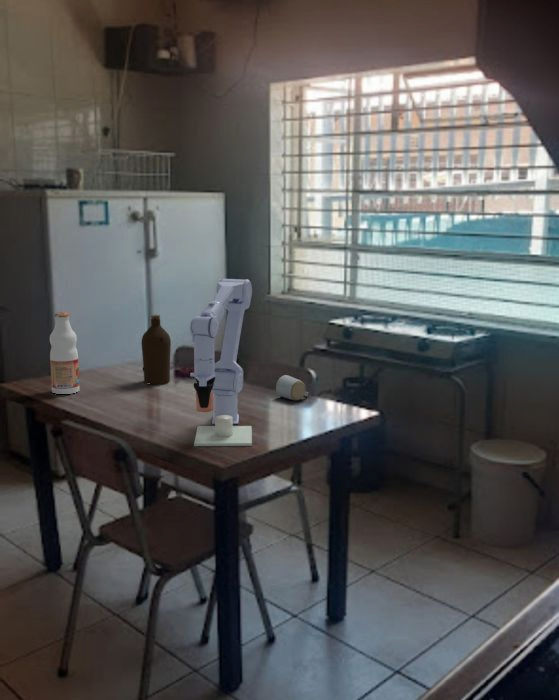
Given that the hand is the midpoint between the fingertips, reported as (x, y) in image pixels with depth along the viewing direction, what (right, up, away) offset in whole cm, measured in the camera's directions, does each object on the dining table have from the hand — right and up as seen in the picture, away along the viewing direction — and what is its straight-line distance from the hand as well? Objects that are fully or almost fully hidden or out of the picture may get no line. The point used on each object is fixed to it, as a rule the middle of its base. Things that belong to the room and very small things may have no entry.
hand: (204, 404), depth 217 cm
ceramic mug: (+26, -1, +44) cm, 52 cm away
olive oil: (-24, +4, +65) cm, 69 cm away
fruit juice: (-54, +1, +49) cm, 73 cm away
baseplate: (+5, -9, +1) cm, 11 cm away
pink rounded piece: (0, -1, 0) cm, 1 cm away
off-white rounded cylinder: (+5, -9, +1) cm, 10 cm away
